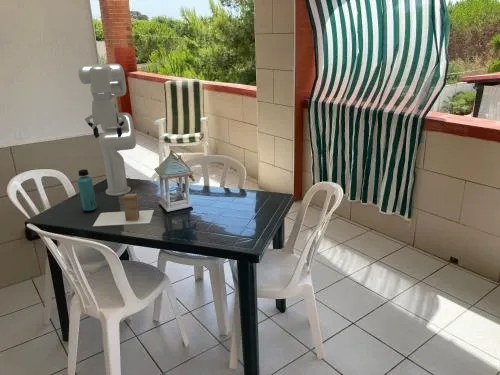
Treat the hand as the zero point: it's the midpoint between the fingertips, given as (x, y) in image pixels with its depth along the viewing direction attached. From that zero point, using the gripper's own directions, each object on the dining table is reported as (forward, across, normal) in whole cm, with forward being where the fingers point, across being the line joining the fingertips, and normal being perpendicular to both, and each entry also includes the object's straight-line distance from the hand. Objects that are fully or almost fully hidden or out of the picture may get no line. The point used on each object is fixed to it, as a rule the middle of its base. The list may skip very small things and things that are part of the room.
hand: (108, 136), depth 176 cm
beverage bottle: (+35, +14, -2) cm, 38 cm away
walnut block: (+35, -9, +10) cm, 38 cm away
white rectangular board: (+35, -5, +8) cm, 37 cm away
